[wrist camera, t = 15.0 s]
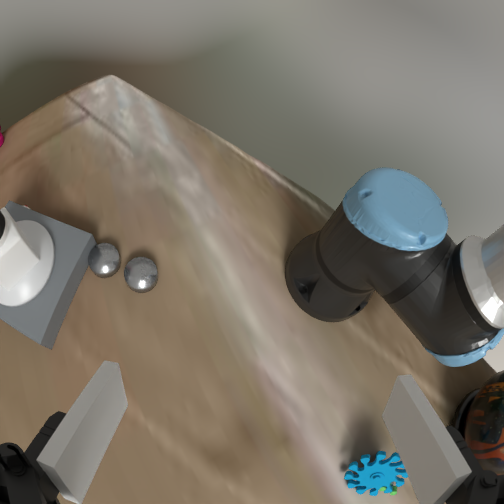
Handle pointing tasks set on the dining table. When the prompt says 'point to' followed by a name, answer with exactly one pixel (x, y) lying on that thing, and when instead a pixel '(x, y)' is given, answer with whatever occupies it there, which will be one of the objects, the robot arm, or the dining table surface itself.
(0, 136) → the pepper mill
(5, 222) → the medicine bottle
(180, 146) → the dining table surface
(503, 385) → the amphora vase
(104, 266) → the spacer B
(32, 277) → the scale
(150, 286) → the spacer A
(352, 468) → the gear
